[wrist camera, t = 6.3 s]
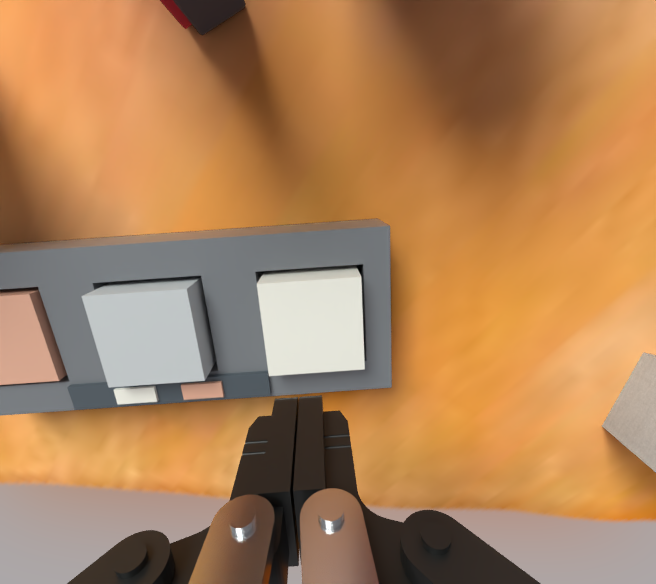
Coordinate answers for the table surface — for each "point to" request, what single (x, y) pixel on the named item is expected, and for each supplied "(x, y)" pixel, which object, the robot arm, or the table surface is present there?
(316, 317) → the cream key
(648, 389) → the pale grey block
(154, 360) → the grey key
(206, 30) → the red and grey box
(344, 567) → the robot arm
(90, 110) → the table surface
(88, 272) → the keypad housing
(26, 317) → the terracotta key
